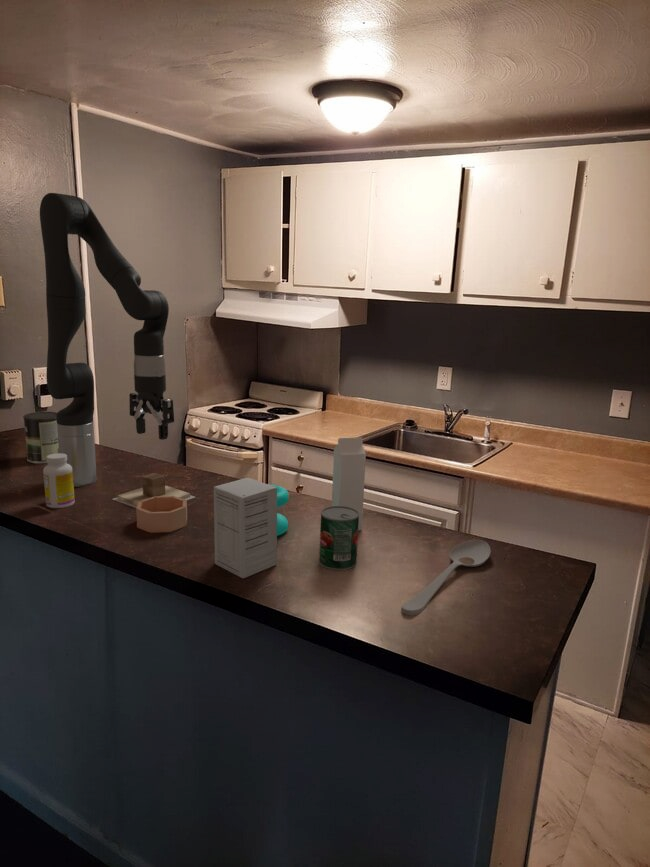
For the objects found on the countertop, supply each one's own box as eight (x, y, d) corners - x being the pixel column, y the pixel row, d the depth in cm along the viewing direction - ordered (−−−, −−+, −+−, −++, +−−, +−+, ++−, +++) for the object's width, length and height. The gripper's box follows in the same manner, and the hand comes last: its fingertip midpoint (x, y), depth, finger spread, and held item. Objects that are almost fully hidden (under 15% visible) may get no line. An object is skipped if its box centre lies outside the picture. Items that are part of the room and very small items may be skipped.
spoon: (464, 545, 136) (464, 534, 135) (498, 554, 131) (498, 543, 131) (385, 615, 109) (385, 602, 108) (424, 629, 104) (425, 616, 103)
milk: (361, 530, 142) (367, 440, 136) (337, 532, 140) (342, 441, 135) (353, 520, 147) (358, 434, 142) (330, 522, 146) (334, 434, 140)
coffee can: (23, 464, 181) (19, 419, 178) (31, 455, 191) (27, 411, 187) (60, 463, 183) (56, 418, 180) (65, 454, 193) (62, 411, 190)
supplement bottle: (79, 501, 153) (76, 453, 150) (66, 510, 147) (62, 460, 144) (55, 499, 154) (51, 451, 151) (40, 508, 147) (36, 458, 144)
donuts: (238, 486, 139) (277, 480, 144) (238, 526, 141) (276, 519, 146) (256, 500, 131) (296, 493, 136) (256, 542, 133) (295, 534, 138)
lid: (117, 498, 155) (116, 476, 153) (157, 486, 165) (157, 465, 164) (150, 510, 148) (149, 487, 146) (190, 497, 158) (190, 475, 156)
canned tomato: (311, 559, 126) (313, 510, 123) (340, 550, 130) (342, 503, 128) (334, 574, 120) (337, 523, 117) (364, 564, 124) (367, 514, 122)
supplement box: (278, 565, 123) (279, 487, 119) (243, 580, 116) (243, 498, 112) (248, 550, 129) (248, 476, 125) (213, 563, 122) (212, 485, 118)
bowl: (128, 525, 139) (127, 505, 138) (165, 511, 148) (164, 492, 147) (159, 537, 133) (159, 516, 132) (196, 523, 142) (196, 503, 141)
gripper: (119, 371, 149) (122, 434, 153) (156, 377, 141) (158, 444, 145) (143, 368, 155) (145, 429, 159) (181, 374, 147) (182, 438, 151)
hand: (152, 436), depth 152 cm, fingers open, 8 cm apart
